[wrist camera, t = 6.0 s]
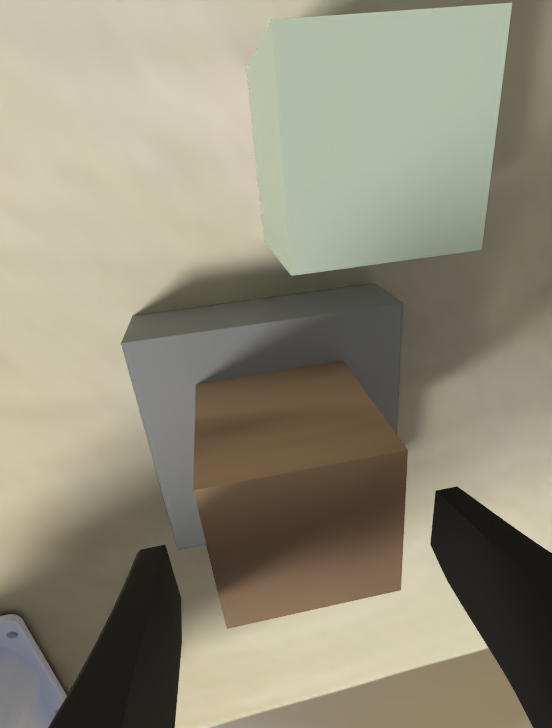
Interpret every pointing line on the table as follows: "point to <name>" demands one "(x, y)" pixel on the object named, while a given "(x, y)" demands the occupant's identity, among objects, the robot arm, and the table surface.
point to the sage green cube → (376, 133)
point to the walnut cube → (297, 491)
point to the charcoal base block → (251, 367)
